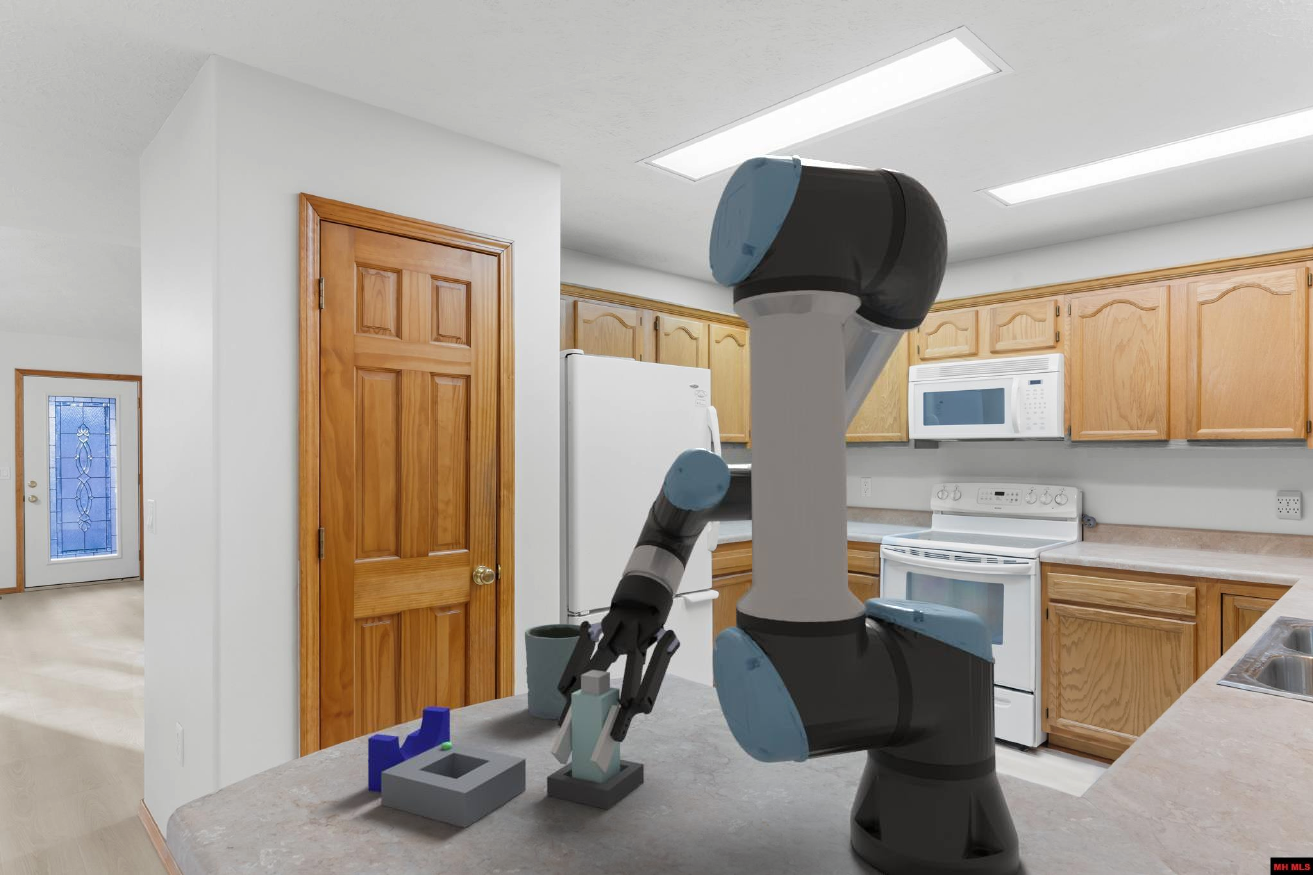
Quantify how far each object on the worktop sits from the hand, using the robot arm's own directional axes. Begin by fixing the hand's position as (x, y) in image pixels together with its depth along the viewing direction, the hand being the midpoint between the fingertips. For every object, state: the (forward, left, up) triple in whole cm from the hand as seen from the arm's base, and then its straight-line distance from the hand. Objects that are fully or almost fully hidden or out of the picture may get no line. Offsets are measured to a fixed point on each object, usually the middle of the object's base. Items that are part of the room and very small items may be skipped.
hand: (577, 762), depth 82 cm
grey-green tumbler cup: (+20, -25, -4) cm, 32 cm away
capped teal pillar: (0, -4, -4) cm, 6 cm away
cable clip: (+24, +2, -5) cm, 24 cm away
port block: (+13, +5, -4) cm, 15 cm away
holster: (0, -4, -4) cm, 6 cm away
